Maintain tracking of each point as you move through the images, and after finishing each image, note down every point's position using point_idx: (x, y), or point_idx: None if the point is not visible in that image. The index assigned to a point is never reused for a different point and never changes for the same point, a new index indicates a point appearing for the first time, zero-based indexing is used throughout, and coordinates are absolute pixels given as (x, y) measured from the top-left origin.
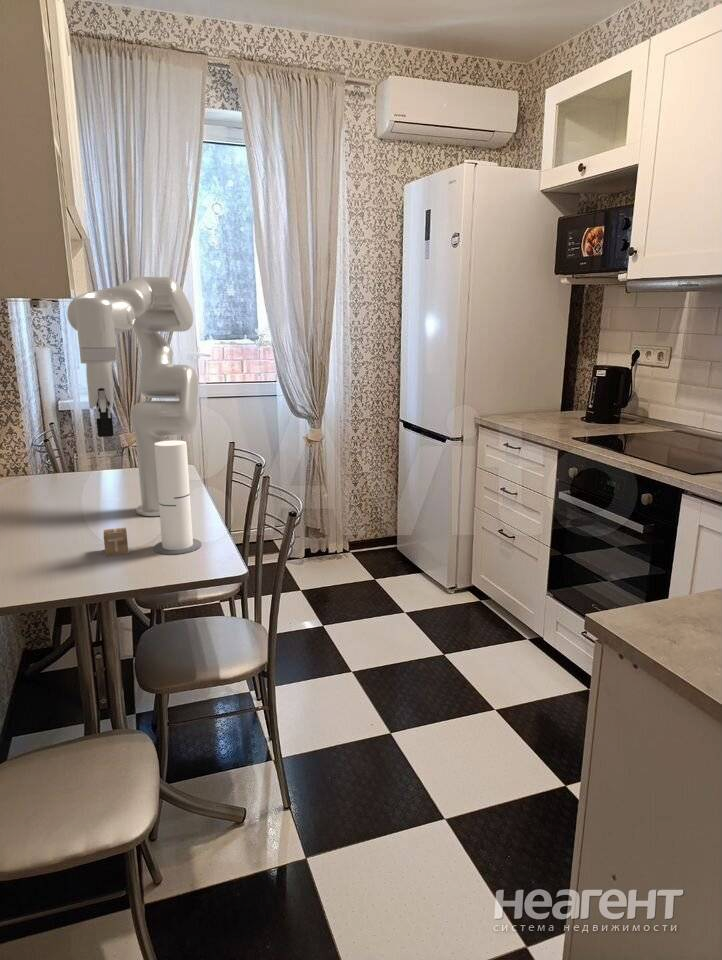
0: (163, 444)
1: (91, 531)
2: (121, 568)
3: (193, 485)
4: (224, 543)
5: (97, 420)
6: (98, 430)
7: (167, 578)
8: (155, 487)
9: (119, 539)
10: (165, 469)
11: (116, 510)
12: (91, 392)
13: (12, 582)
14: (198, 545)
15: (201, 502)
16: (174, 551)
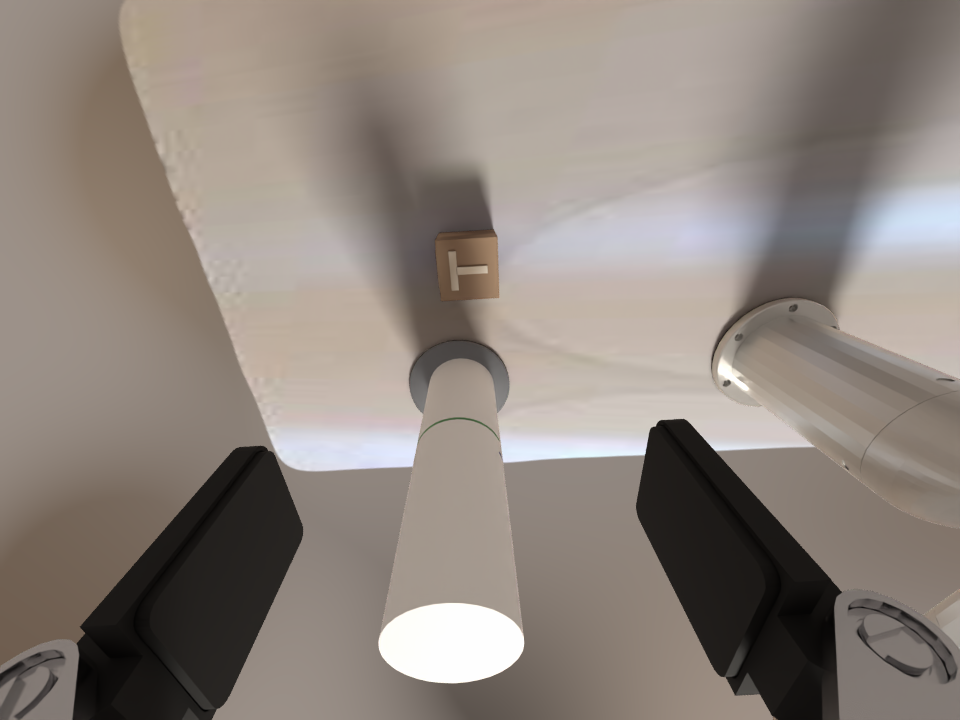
0: (421, 628)
1: (676, 176)
2: (344, 274)
3: None
4: None
5: (112, 608)
6: (207, 494)
7: (272, 363)
8: (787, 386)
9: (438, 278)
10: (401, 529)
11: (856, 239)
12: None
13: None
14: None
15: (777, 440)
16: (419, 380)
